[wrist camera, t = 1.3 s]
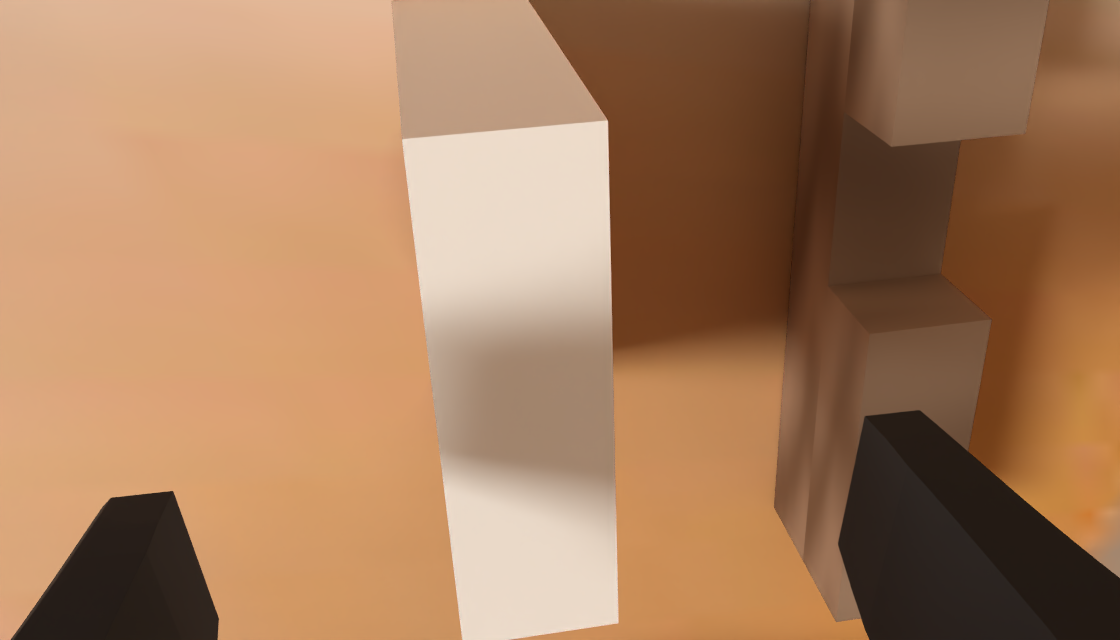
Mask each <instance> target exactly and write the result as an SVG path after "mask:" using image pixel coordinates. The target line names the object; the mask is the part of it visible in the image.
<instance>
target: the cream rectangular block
mask: <svg viewBox="0 0 1120 640" xmlns="http://www.w3.org/2000/svg"><path fill="white" fill-rule="evenodd" d="M392 14H393V27H394V40H395V54H396V67H397V80H398V93H399V106H400V119H401V133H402V143H403V152H404V160H405V168H406V177H407V185H408V193H409V201H410V210H411V218H412V226H413V235H414V243H415V251H416V259H417V268H418V276H419V284H420V293H421V301H422V309H423V318H424V326H425V334H426V342H427V351H428V359H429V367H430V376H431V384H432V392H433V400H434V409H435V417H436V425H437V434H438V442H439V450H440V459H441V467H442V475H443V483H444V492H445V500H446V508H447V517H448V525H449V533H450V541H451V550H452V558H453V566H454V575H455V583H456V591H457V600H458V608H459V616H460V624H461V633H462V640H510V639H516V638H523V637H530V636H536V635H543V634H550V633H556V632H563V631H570V630H576V629H583V628H590V627H596V626H603V625H610V624H616V623H618V582H617V534H616V486H615V438H614V390H613V342H612V294H611V246H610V198H609V150H608V120H607V118H606V117H605V115H604V114H603V112H602V111H601V109H600V108H599V106H598V105H597V103H596V102H595V100H594V99H593V97H592V96H591V94H590V93H589V91H588V90H587V88H586V87H585V85H584V84H583V82H582V81H581V79H580V78H579V76H578V75H577V73H576V72H575V70H574V68H573V67H572V65H571V64H570V62H569V61H568V59H567V58H566V56H565V55H564V53H563V52H562V50H561V49H560V47H559V46H558V44H557V43H556V41H555V40H554V38H553V37H552V35H551V34H550V32H549V31H548V29H547V28H546V26H545V25H544V23H543V22H542V20H541V19H540V17H539V16H538V14H537V13H536V11H535V10H534V8H533V7H532V5H531V4H530V2H529V1H528V0H396V1H392Z"/></svg>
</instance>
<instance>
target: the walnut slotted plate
mask: <svg viewBox="0 0 1120 640" xmlns="http://www.w3.org/2000/svg"><path fill="white" fill-rule="evenodd" d="M1048 6H1049V0H811V3H810V16H809V30H808V44H807V58H806V72H805V86H804V100H803V113H802V127H801V141H800V155H799V169H798V183H797V197H796V211H795V224H794V238H793V252H792V266H791V280H790V294H789V308H788V321H787V335H786V349H785V363H784V377H783V391H782V405H781V418H780V432H779V446H778V460H777V474H776V488H775V502H774V508H775V510H776V512H777V513H778V515H779V517H780V519H781V521H782V523H783V525H784V526H785V528H786V530H787V532H788V534H789V536H790V538H791V539H792V541H793V543H794V545H795V547H796V549H797V550H798V552H799V554H800V556H801V558H802V560H803V562H804V563H805V565H806V567H807V569H808V571H809V573H810V575H811V576H812V578H813V580H814V582H815V584H816V586H817V588H818V589H819V591H820V593H821V595H822V597H823V599H824V600H825V602H826V604H827V606H828V608H829V610H830V612H831V613H832V615H833V617H834V619H835V621H836V622H840V621H847V620H853V619H860V618H861V616H860V613H859V610H858V607H857V604H856V601H855V598H854V595H853V592H852V589H851V586H850V582H849V579H848V576H847V573H846V569H845V566H844V563H843V560H842V556H841V553H840V550H839V547H838V541H839V536H840V531H841V526H842V522H843V517H844V512H845V507H846V503H847V498H848V493H849V488H850V484H851V479H852V474H853V469H854V465H855V460H856V455H857V450H858V446H859V441H860V436H861V431H862V427H863V422H864V417H865V416H869V415H878V414H887V413H897V412H906V411H915V410H920V411H922V412H923V413H924V414H925V415H926V416H928V417H929V418H930V419H931V420H932V421H933V422H935V423H936V424H937V425H938V426H939V427H940V428H942V429H943V430H944V431H945V432H946V433H947V434H949V435H950V436H951V437H952V438H953V439H954V440H955V441H957V442H958V443H959V444H960V445H961V446H962V447H963V448H965V449H966V450H967V451H968V449H969V444H970V438H971V433H972V427H973V422H974V416H975V410H976V405H977V399H978V394H979V388H980V383H981V377H982V372H983V366H984V361H985V355H986V349H987V344H988V338H989V333H990V327H991V322H992V319H991V318H990V317H989V316H987V315H986V314H985V313H984V312H983V311H982V310H981V309H980V308H979V307H977V306H976V305H975V304H974V303H973V302H972V301H971V300H970V299H968V298H967V297H966V296H965V295H964V294H963V293H962V292H961V291H960V290H958V289H957V288H956V287H955V286H954V285H953V284H952V283H951V282H949V281H948V280H947V279H946V278H945V277H944V276H943V275H942V274H941V268H942V262H943V255H944V248H945V242H946V235H947V228H948V222H949V215H950V208H951V202H952V195H953V188H954V181H955V175H956V168H957V161H958V155H959V148H960V141H961V140H967V139H978V138H988V137H998V136H1009V135H1019V134H1025V133H1026V128H1027V122H1028V116H1029V111H1030V105H1031V100H1032V94H1033V89H1034V83H1035V78H1036V72H1037V67H1038V61H1039V55H1040V50H1041V44H1042V39H1043V33H1044V28H1045V22H1046V17H1047V11H1048Z"/></svg>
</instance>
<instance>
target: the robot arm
mask: <svg viewBox="0 0 1120 640" xmlns="http://www.w3.org/2000/svg"><path fill="white" fill-rule="evenodd" d="M838 547H839V550H840V553H841V556H842V560H843V563H844V566H845V569H846V573H847V576H848V579H849V582H850V586H851V589H852V592H853V595H854V598H855V601H856V604H857V607H858V610H859V613H860V616H861V619H862V622H863V625H864V628H865V631H866V633H867V635H868V637H869V640H1120V578H1119V577H1118V576H1116V575H1115V574H1114V573H1112V572H1111V571H1110V570H1109V569H1107V568H1106V567H1105V566H1104V565H1102V564H1101V563H1100V562H1099V561H1097V560H1096V559H1095V558H1094V557H1092V556H1091V555H1090V554H1089V553H1087V552H1086V551H1085V550H1084V549H1082V548H1081V547H1080V546H1079V545H1077V544H1076V543H1075V542H1074V541H1073V540H1071V539H1070V538H1069V537H1068V536H1067V535H1065V534H1064V533H1063V532H1062V531H1060V530H1059V529H1058V528H1057V527H1056V526H1054V525H1053V524H1052V523H1051V522H1050V521H1048V520H1047V519H1046V518H1045V517H1044V516H1042V515H1041V514H1040V513H1039V512H1038V511H1036V510H1035V509H1034V508H1033V507H1032V506H1031V505H1029V504H1028V503H1027V502H1026V501H1025V500H1023V499H1022V498H1021V497H1020V496H1019V495H1018V494H1017V493H1015V492H1014V491H1013V490H1012V489H1011V488H1010V487H1008V486H1007V485H1006V484H1005V483H1004V482H1003V481H1001V480H1000V479H999V478H998V477H997V476H996V475H994V474H993V473H992V472H991V471H990V470H989V469H988V468H986V467H985V466H984V465H983V464H982V463H981V462H979V461H978V460H977V459H976V458H975V457H974V456H973V455H971V454H970V453H969V452H968V451H967V450H966V449H965V448H963V447H962V446H961V445H960V444H959V443H958V442H957V441H955V440H954V439H953V438H952V437H951V436H950V435H949V434H947V433H946V432H945V431H944V430H943V429H942V428H940V427H939V426H938V425H937V424H936V423H935V422H933V421H932V420H931V419H930V418H929V417H928V416H926V415H925V414H924V413H923V412H922V411H920V410H915V411H906V412H897V413H887V414H878V415H869V416H865V417H864V422H863V427H862V431H861V436H860V441H859V446H858V450H857V455H856V460H855V465H854V469H853V474H852V479H851V484H850V488H849V493H848V498H847V503H846V507H845V512H844V517H843V522H842V526H841V531H840V536H839V541H838ZM218 622H219V618H218V615H217V612H216V609H215V607H214V604H213V601H212V598H211V596H210V593H209V590H208V587H207V584H206V582H205V579H204V576H203V573H202V570H201V568H200V565H199V562H198V559H197V556H196V554H195V551H194V548H193V545H192V542H191V540H190V537H189V534H188V531H187V529H186V526H185V523H184V520H183V517H182V515H181V512H180V509H179V506H178V503H177V501H176V498H175V495H174V492H173V491H170V492H160V493H151V494H142V495H133V496H124V497H114V498H110V499H109V501H108V502H107V503H106V504H105V505H104V506H103V507H102V509H101V510H100V512H99V513H98V514H97V516H96V517H95V519H94V520H93V522H92V523H91V525H90V526H89V528H88V529H87V531H86V532H85V534H84V535H83V537H82V538H81V540H80V541H79V542H78V544H77V545H76V547H75V548H74V550H73V551H72V553H71V554H70V556H69V557H68V559H67V560H66V562H65V563H64V565H63V566H62V568H61V569H60V570H59V572H58V573H57V575H56V576H55V578H54V579H53V581H52V582H51V584H50V585H49V586H48V588H47V589H46V591H45V592H44V594H43V595H42V596H41V598H40V599H39V601H38V602H37V604H36V605H35V606H34V608H33V609H32V611H31V612H30V614H29V615H28V616H27V618H26V619H25V621H24V622H23V624H22V625H21V626H20V628H19V629H18V630H17V632H16V633H15V635H14V636H13V637H12V639H11V640H217V638H218Z"/></svg>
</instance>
